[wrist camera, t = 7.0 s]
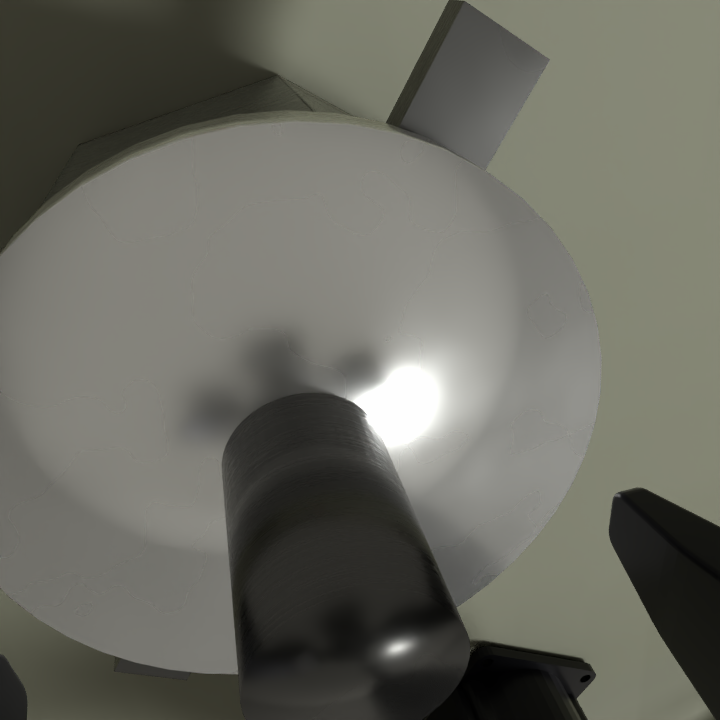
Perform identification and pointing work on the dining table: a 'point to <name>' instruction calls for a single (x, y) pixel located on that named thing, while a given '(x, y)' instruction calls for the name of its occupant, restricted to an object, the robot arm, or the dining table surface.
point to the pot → (411, 112)
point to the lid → (286, 407)
